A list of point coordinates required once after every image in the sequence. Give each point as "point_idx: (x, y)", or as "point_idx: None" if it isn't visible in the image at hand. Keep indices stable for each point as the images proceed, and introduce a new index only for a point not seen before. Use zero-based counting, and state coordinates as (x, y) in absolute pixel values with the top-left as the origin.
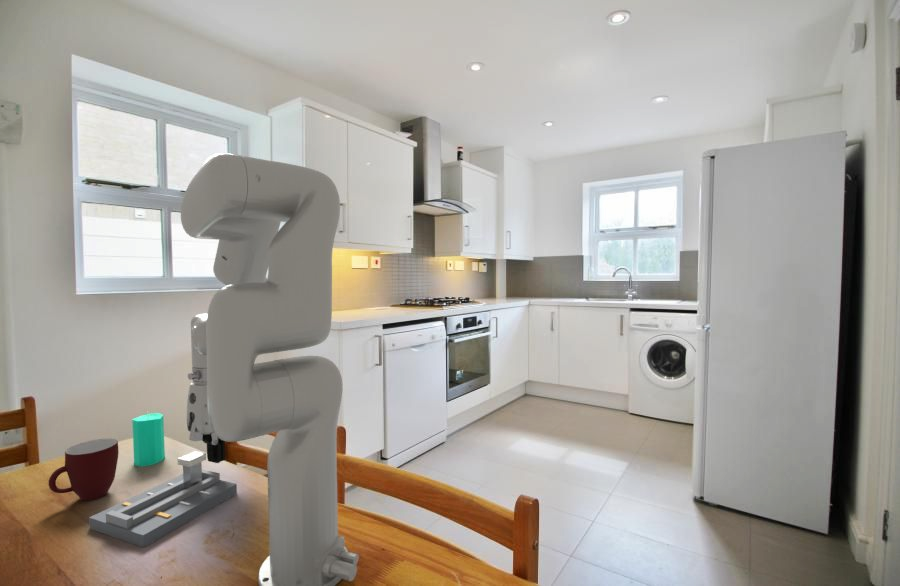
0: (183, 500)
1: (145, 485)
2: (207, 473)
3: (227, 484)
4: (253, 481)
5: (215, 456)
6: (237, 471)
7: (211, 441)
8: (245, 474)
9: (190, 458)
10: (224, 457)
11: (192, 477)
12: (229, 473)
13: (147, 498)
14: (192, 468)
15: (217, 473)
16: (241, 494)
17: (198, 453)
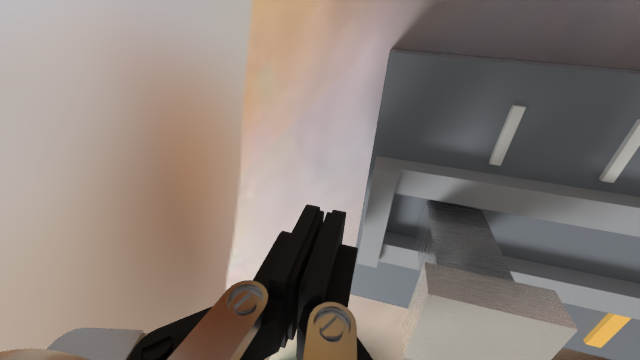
0: (580, 179)
1: (395, 340)
2: (386, 218)
3: (405, 93)
4: (283, 61)
5: (340, 247)
6: (250, 176)
7: (354, 349)
8: (254, 135)
9: (526, 338)
10: (308, 211)
11: (486, 239)
12: (270, 191)
13: (612, 301)
14: (498, 273)
15: (378, 177)
16: (392, 20)
17: (434, 330)
